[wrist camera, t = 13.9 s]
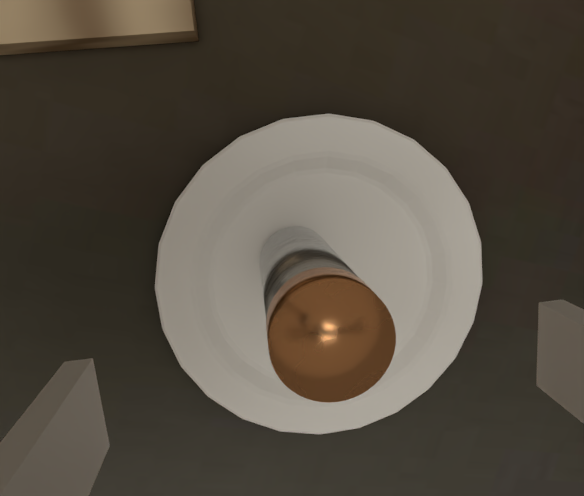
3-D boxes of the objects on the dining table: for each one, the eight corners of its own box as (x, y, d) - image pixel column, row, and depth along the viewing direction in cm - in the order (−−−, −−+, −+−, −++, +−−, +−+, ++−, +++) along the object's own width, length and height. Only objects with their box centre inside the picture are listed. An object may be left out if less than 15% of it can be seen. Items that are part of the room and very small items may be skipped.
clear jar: (262, 300, 30) (275, 410, 17) (254, 229, 29) (262, 288, 16) (334, 292, 30) (398, 393, 17) (328, 221, 29) (392, 273, 16)
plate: (532, 276, 33) (547, 283, 31) (315, 476, 35) (318, 493, 33) (326, 40, 29) (332, 33, 27) (88, 281, 30) (79, 289, 29)
